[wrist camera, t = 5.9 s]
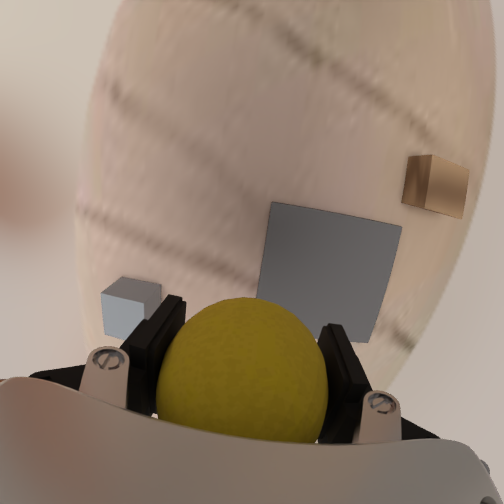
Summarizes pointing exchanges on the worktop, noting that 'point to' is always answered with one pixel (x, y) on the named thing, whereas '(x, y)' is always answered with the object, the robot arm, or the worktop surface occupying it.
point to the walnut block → (436, 185)
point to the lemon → (245, 374)
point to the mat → (327, 267)
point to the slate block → (128, 305)
